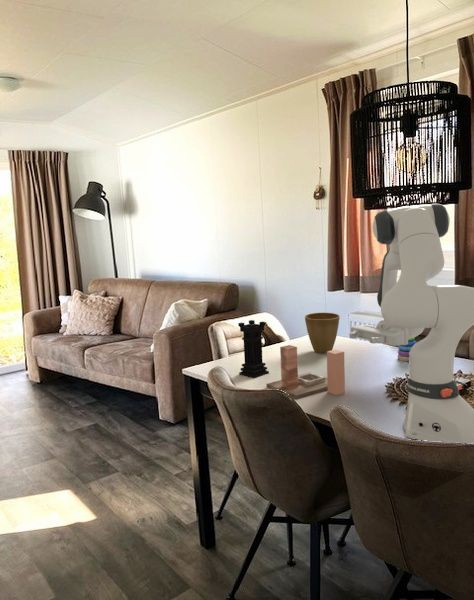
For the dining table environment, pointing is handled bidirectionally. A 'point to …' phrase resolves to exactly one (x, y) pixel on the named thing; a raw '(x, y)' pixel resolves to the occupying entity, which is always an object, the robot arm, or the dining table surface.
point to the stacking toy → (405, 350)
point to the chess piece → (252, 349)
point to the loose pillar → (335, 372)
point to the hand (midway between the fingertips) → (360, 338)
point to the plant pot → (322, 330)
